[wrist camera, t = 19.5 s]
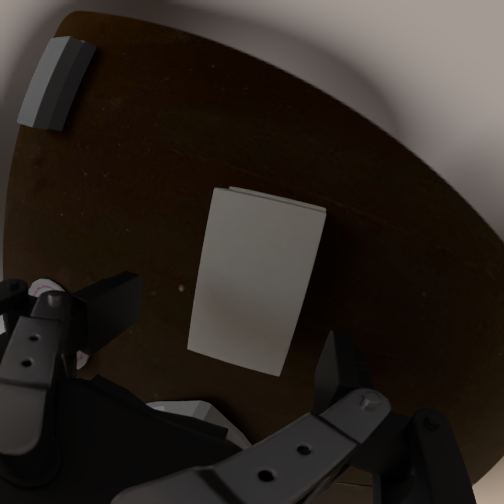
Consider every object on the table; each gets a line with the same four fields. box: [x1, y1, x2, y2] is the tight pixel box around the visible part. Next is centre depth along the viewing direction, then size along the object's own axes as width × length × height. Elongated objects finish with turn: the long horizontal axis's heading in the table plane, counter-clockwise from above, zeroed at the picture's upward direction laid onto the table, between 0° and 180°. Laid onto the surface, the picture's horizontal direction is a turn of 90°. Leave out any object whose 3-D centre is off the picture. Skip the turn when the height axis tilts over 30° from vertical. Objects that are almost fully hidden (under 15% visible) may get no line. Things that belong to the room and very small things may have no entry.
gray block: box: [17, 36, 97, 131], centre depth 20 cm, size 10×4×4 cm, turn 158°
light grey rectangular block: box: [187, 188, 326, 376], centre depth 17 cm, size 10×6×3 cm, turn 168°
